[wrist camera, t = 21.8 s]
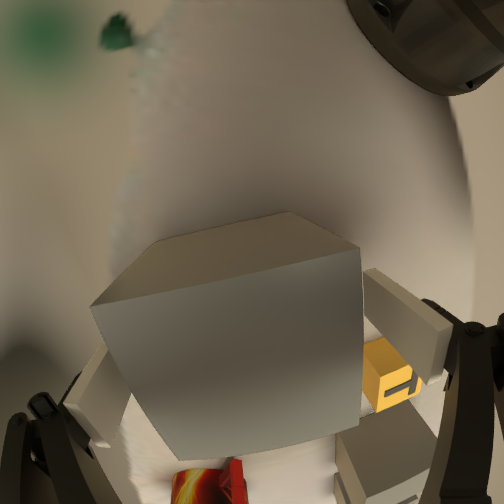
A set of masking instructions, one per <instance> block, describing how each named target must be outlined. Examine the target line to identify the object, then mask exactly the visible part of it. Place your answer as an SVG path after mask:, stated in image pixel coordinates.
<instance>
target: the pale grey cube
mask: <svg viewBox="0 0 504 504" xmlns="http://www.w3.org/2000/svg"><path fill="white" fill-rule="evenodd" d="M90 309H91V312H92V314H93V316H94V319H95V321H96V324H97V326H98V328H99V330H100V333H101V334H102V337H103V339H104V341H105V343H106V345H107V347H108V349H109V351H110V353H111V355H112V357H113V359H114V361H115V363H116V365H117V367H118V369H119V371H120V372H121V374H122V376H123V378H124V380H125V381H126V383H127V385H128V387H129V388H130V390H131V392H132V394H133V395H134V397H135V399H136V400H137V402H138V403H139V405H140V407H141V408H142V410H143V411H144V413H145V414H146V416H147V417H148V419H149V420H150V422H151V423H152V425H153V426H154V428H155V429H156V431H157V432H158V434H159V435H160V436H161V438H162V439H163V441H164V442H165V443H166V445H167V446H168V447H169V449H170V450H171V451H172V453H173V454H174V455H175V456H176V458H177V459H178V460H179V461H184V460H201V459H213V458H223V457H231V456H239V455H246V454H252V453H258V452H263V451H269V450H274V449H278V448H283V447H287V446H292V445H296V444H300V443H304V442H307V441H311V440H315V439H318V438H322V437H325V436H328V435H331V434H334V433H338V432H341V431H344V430H346V429H349V428H352V427H355V426H358V425H359V419H360V408H361V395H362V379H363V347H364V322H363V289H362V271H361V258H360V248H359V247H357V246H355V245H354V244H352V243H350V242H348V241H346V240H344V239H342V238H341V237H339V236H337V235H335V234H333V233H331V232H329V231H327V230H325V229H323V228H321V227H320V226H318V225H316V224H314V223H312V222H310V221H308V220H306V219H304V218H302V217H300V216H298V215H296V214H294V213H292V212H290V211H289V212H284V213H279V214H275V215H270V216H265V217H260V218H256V219H251V220H246V221H242V222H237V223H233V224H228V225H224V226H219V227H215V228H210V229H206V230H202V231H198V232H193V233H189V234H185V235H181V236H176V237H172V238H168V239H164V240H160V241H156V242H155V243H154V244H153V245H152V246H151V247H149V248H148V249H147V250H146V251H145V252H144V253H143V254H142V255H141V256H140V257H139V258H138V259H137V260H136V261H135V262H133V263H132V264H131V265H130V266H129V267H128V268H127V269H126V270H125V271H124V272H123V273H122V274H121V275H120V276H119V277H118V278H117V279H116V280H115V281H114V282H113V283H112V284H111V285H110V286H109V287H108V288H107V289H106V290H105V291H104V292H103V293H102V294H101V295H100V296H99V297H98V298H97V299H96V300H95V301H94V302H93V304H92V305H91V306H90Z"/></svg>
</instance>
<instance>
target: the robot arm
mask: <svg viewBox="0 0 504 504" xmlns="http://www.w3.org/2000/svg"><path fill="white" fill-rule="evenodd" d="M347 1H348V4H349V7H350V9H351V12H352V14H353V16H354V18H355V19H356V21H357V23H358V24H359V26H360V28H361V29H362V31H363V32H364V33H365V35H366V36H367V37H368V39H369V40H370V41H371V42H372V44H373V45H374V46H375V47H376V48H377V49H378V51H379V52H380V53H381V54H382V55H383V56H384V57H385V58H386V59H387V60H388V61H389V62H390V63H391V64H392V65H393V66H395V67H396V68H397V69H398V70H399V71H400V72H401V73H403V74H404V75H405V76H407V77H408V78H409V79H411V80H412V81H413V82H415V83H416V84H418V85H420V86H421V87H423V88H425V89H427V90H429V91H431V92H434V93H436V94H440V95H444V96H456V95H460V94H464V93H468V92H471V91H474V90H476V89H477V88H479V87H480V86H481V85H482V84H483V83H485V82H486V81H487V80H488V79H489V78H490V77H492V76H493V75H494V74H495V73H496V72H497V71H499V70H500V69H501V68H502V67H503V66H504V0H347ZM363 286H364V315H365V316H366V317H367V318H368V320H369V321H370V322H371V323H372V324H373V325H374V326H375V327H376V328H377V329H378V331H379V332H380V333H381V334H382V335H383V336H384V337H385V338H386V339H387V341H388V342H389V343H390V344H391V345H392V346H393V347H394V348H395V350H396V351H397V352H398V353H399V354H400V355H401V356H402V357H403V359H404V360H405V361H406V362H407V363H408V364H409V366H410V367H411V368H412V369H413V370H414V371H415V372H416V374H417V375H418V376H419V377H420V378H421V379H422V381H423V382H424V383H425V384H426V385H427V386H428V385H430V384H432V383H434V382H436V381H437V380H439V379H441V376H442V373H443V369H444V368H445V369H446V370H447V372H448V373H449V374H448V377H447V380H446V384H445V387H444V390H443V391H446V392H445V400H444V407H443V413H442V419H441V425H440V430H439V435H438V439H437V444H436V448H435V452H434V456H433V460H432V463H431V467H430V470H429V474H428V477H427V480H426V483H425V486H424V489H423V492H422V495H421V498H420V500H419V503H418V504H492V500H491V497H490V496H488V495H487V485H488V480H489V474H490V467H491V460H492V451H493V438H494V402H495V405H496V409H497V413H498V417H499V421H500V425H501V429H502V435H503V439H504V313H502V314H501V315H500V316H499V318H498V322H497V325H495V326H491V327H487V328H486V327H485V326H484V325H482V324H481V323H478V322H466V323H463V322H462V321H460V320H459V319H458V318H456V317H455V316H453V315H452V314H451V313H449V312H448V311H446V310H445V309H444V308H442V307H441V306H440V305H438V304H437V303H435V302H434V301H431V300H428V299H425V298H424V299H422V300H420V299H418V298H417V297H416V296H414V295H413V294H411V293H410V292H409V291H407V290H406V289H404V288H403V287H402V286H400V285H399V284H397V283H396V282H394V281H393V280H392V279H390V278H389V277H387V276H386V275H384V274H383V273H381V272H380V271H378V270H377V269H376V268H373V269H369V270H366V271H363ZM130 395H131V390H130V388H129V387H128V385H127V383H126V381H125V380H124V378H123V376H122V374H121V372H120V371H119V369H118V367H117V365H116V363H115V361H114V359H113V357H112V355H111V353H110V351H109V349H108V347H107V345H106V343H105V341H104V340H103V341H102V343H101V344H100V346H99V347H98V349H97V350H96V352H95V353H94V355H93V356H92V358H91V359H90V361H89V362H88V364H87V366H86V367H85V368H84V370H83V371H81V372H80V373H79V374H78V375H77V376H76V377H75V378H74V380H73V382H72V383H71V385H70V386H69V388H68V390H67V391H66V393H65V394H64V396H63V397H62V399H61V401H60V403H59V404H58V406H57V405H56V403H55V402H54V400H53V399H52V397H51V396H50V395H49V393H47V392H41V393H37V394H36V395H34V396H33V397H32V398H31V399H30V400H29V402H28V404H27V407H28V409H29V410H30V411H31V413H32V414H33V415H34V417H35V418H36V420H30V419H29V418H28V416H27V415H26V414H25V413H23V412H20V413H17V414H14V415H13V416H12V417H11V419H10V420H9V422H8V425H7V430H6V435H5V440H4V446H3V452H2V457H1V466H0V504H122V502H121V501H120V499H119V498H118V496H117V494H116V493H115V491H114V489H113V488H112V486H111V484H110V482H109V481H108V479H107V477H106V475H105V473H104V472H103V469H102V468H101V465H100V464H99V462H98V460H97V458H96V456H95V453H94V451H93V449H92V448H91V447H90V445H89V444H88V443H89V441H90V438H91V439H92V440H93V442H94V443H95V444H96V445H97V446H98V447H108V448H112V444H113V442H114V439H115V436H116V433H117V430H118V427H119V425H120V422H121V419H122V416H123V414H124V411H125V408H126V406H127V403H128V400H129V398H130ZM30 453H31V454H32V455H33V456H34V457H35V461H33V460H32V458H31V454H30Z"/></svg>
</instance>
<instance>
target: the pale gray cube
mask: <svg viewBox="0 0 504 504" xmlns="http://www.w3.org/2000/svg"><path fill="white" fill-rule="evenodd" d="M436 444H437V437H436V436H435V435H434V433H433V432H432V431H431V429H430V428H429V427H428V425H427V424H426V422H425V421H424V420H423V418H422V417H421V416H420V414H419V413H418V412H417V410H416V409H415V408H414V406H413V405H412V404H411V403H410V401H409V400H408V399H406V400H404V401H402V402H400V403H398V404H396V405H393V406H391V407H389V408H387V409H384V410H382V411H380V412H377V413H376V412H375V413H373V414H370V415H368V416H365V417H363V418H360V419H359V425H358V426H355V427H352V428H349V429H346V430H344V431H341V432H338V433H336V457H335V463H336V465H337V468H338V470H339V473H340V476H341V478H342V481H343V483H344V486H345V489H346V491H347V494H348V496H349V499H350V502H351V504H397V503H399V502H401V501H403V500H405V499H407V498H409V497H411V496H413V495H415V494H417V493H419V492H420V491H422V490H423V489H424V486H425V483H426V480H427V477H428V474H429V470H430V467H431V463H432V460H433V456H434V452H435V448H436Z"/></svg>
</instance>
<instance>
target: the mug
mask: <svg viewBox="0 0 504 504" xmlns="http://www.w3.org/2000/svg"><path fill="white" fill-rule="evenodd" d="M171 504H249V503H248V494H247V485H246V481H245V479H244V478H243V469H242V460H238V459H232V460H231V462H230V463H229V464H228V466H227V467H226V468H225V470H218V469H189V470H184V471H181V472H179V473H177V474H175V475H174V477H173V483H172V494H171Z"/></svg>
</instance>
